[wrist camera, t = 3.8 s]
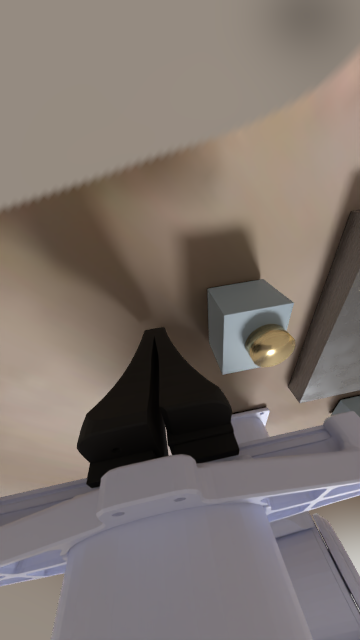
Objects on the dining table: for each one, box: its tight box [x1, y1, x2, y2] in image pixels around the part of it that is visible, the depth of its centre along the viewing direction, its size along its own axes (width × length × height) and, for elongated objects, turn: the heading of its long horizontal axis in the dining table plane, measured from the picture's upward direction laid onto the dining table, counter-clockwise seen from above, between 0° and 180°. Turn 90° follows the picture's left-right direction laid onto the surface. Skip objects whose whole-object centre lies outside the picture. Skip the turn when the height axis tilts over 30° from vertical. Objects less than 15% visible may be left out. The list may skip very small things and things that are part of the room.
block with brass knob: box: [208, 279, 295, 375], centre depth 13 cm, size 4×5×4 cm
